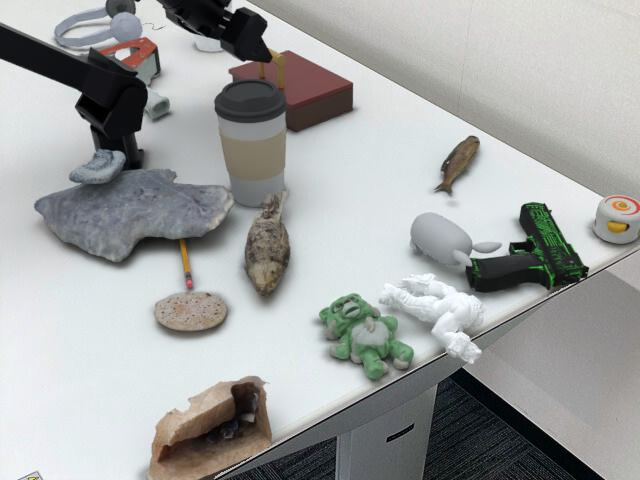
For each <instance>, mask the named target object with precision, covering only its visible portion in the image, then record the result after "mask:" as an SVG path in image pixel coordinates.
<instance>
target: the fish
mask: <svg viewBox="0 0 640 480" xmlns="http://www.w3.org/2000/svg"><path fill="white" fill-rule="evenodd" d="M480 146H481V141H480V139H479V137H478V136H477V135H473V134H472V135H468V136H467V137H466V138H465V139H464V140H462V141H460V142H459V143H458V144H457V145H456V146H455V147H454V148H453V149H452V150H451V152H450V153H449V154H448V155H447V157H446V159H444V160H443V163H442V165H441V167H440V171H439V172H441V173H442V172H443V174H442V175H443V181H442V183H440V184H439V185H437V186H436V187H435V188H434V189H433V191H436V190H439V189H442V188H443V189H445V190H446V192H448V193H449V194H453V189H452V185H451V183H452V182H453V181H454V179H455V178H456V177H457V176H459V174H461V173H463V172H464V170H467V167H468V166H469V165H470V163H471V162H472V161H473V158H474V157H475V155H476V153H477V151H478V150H479V148H480Z"/></svg>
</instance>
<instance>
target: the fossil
mask: <svg viewBox="0 0 640 480" xmlns="http://www.w3.org/2000/svg"><path fill="white" fill-rule="evenodd" d="M125 160H126V157H125V154H124V153H122V152H120V151H110V150H102V149H98V151H97V152H96V151H95V152H94V153H93V156H92V160H91V161H89V162H88V163H85V164H82V165H79V166H78V167H76V168H75V169H74V170H72V171H71V172H70V173H69V175H68V180H70V182H73V183H76V184H81V183H87V184H103V183H107V182H110V181H111V180H112V179H113V178H114V177H115V176H116V175H117V174H118V173H119V172H120V171H121V170H122V169H123V164H124V163H125Z"/></svg>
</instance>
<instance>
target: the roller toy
mask: <svg viewBox="0 0 640 480" xmlns="http://www.w3.org/2000/svg"><path fill="white" fill-rule="evenodd" d="M592 230H593V232H594V234H595V235H596V236H597V237H599V238H600V239H601V240H603V241H605V242H608V243H612V244H617V245H618V244H619V245H624V244H629V243H631V242H633V241H635V240H637V238H638V237H639V235H640V201H639V200H637V199H635V198H633V197H631V196H627V195H622V194H621V195H620V194H612V195H608V196H605V197H604V198H602V199H601V200H600V201H599V202H598V205H597V208H596V211H595V219H594V222H593V223H592Z"/></svg>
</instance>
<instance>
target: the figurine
mask: <svg viewBox="0 0 640 480" xmlns="http://www.w3.org/2000/svg"><path fill="white" fill-rule="evenodd" d="M398 284H399V285H397V287H396V286H395V285H393V284H391V283H388V282H385V283H384V285H383V291H382V292H380V293H379V294H380V295H379V298H378V304H381V305H383V306H384V305H385V306H387V307H390V308H392V307H393V306H394V305H395V304H397V306H398V307H399V309H400V310H401V311H403V312H406V313H408V314H411V315H413V316H416V317H417V319H418V320H419V321H422V322H428V323H432V322H433V323H435V324H434V325H433V328H432V329H431V331H430V333H431V335H432V337H433V338H434V339H435V341H437V342H438V344H440V345H441V346H442V347H444V351H445V353H446V354H447V355H449V356H450V357H451V358H453V359H455V358H456V359H457V358H458V359H460V360H461V361H462V362H464V363H467V364H468V366H473V365H475V363H476V362H477V361H478V359H480V358H481V355H482V354H483V351H482V349H480V348H479V347H478V346H477V344H475V343H474V342H472V341H471V338H470V336H469V335H468V334H466V333H464V332H463V331H464V330H466V329H468V328H469V327H475V328H479V327H480V326H481V325H482V324H483V323H484V319H485V317H484V315H483V313H485V312H486V308H485V307H484V306H483V302H482V301H481V300H480V299H479V298H478V297H476V296H475V295H473V294H471V295H469V294H468V293H465V292H462V291H461V292H460V291H459V292H458V290H457V289H456V288H455V287H454V286H453V285H448V284H446V283H445V282H442V281H440V280H439V279H438V276H437V275H435V274H434V273H430V272H428V273H426V272H424V274H422V275H420V274H415V273H410V274H409V277H407V278H403V277H402V278H401V280H400V281H398ZM480 310H481V311H480Z"/></svg>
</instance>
